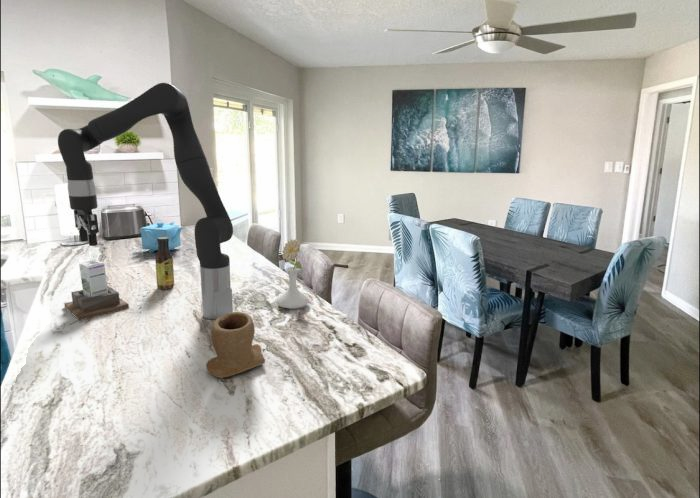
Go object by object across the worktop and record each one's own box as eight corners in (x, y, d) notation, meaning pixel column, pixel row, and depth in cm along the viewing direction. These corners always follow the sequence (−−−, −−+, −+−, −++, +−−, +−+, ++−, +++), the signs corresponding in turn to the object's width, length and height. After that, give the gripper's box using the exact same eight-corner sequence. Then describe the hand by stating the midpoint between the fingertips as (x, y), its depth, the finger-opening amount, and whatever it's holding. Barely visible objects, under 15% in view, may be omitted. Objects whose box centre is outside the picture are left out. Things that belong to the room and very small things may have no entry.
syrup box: (110, 303, 148) (105, 262, 144) (92, 308, 143) (86, 266, 139) (101, 299, 151) (96, 259, 147) (83, 304, 146) (78, 263, 142)
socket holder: (128, 307, 148) (127, 292, 147) (79, 320, 137) (77, 304, 136) (112, 296, 158) (110, 282, 156) (64, 307, 147) (62, 292, 145)
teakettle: (139, 249, 224) (136, 221, 221) (176, 244, 235) (174, 218, 232) (147, 257, 210) (144, 227, 206) (187, 252, 220) (185, 224, 217)
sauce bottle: (168, 291, 165) (164, 240, 160) (153, 289, 166) (149, 239, 161) (178, 285, 171) (174, 236, 166) (164, 284, 172) (160, 235, 168)
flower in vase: (273, 301, 157) (272, 234, 151) (303, 298, 162) (303, 233, 156) (282, 315, 146) (281, 243, 140) (314, 310, 150) (315, 240, 144)
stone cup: (219, 388, 102) (216, 330, 99) (201, 367, 111) (198, 313, 108) (276, 369, 111) (275, 315, 108) (255, 351, 120) (254, 301, 117)
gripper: (103, 195, 136) (109, 245, 140) (87, 191, 145) (93, 238, 149) (76, 197, 130) (83, 249, 134) (62, 192, 140) (68, 241, 144)
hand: (88, 243), depth 142 cm, fingers open, 8 cm apart
